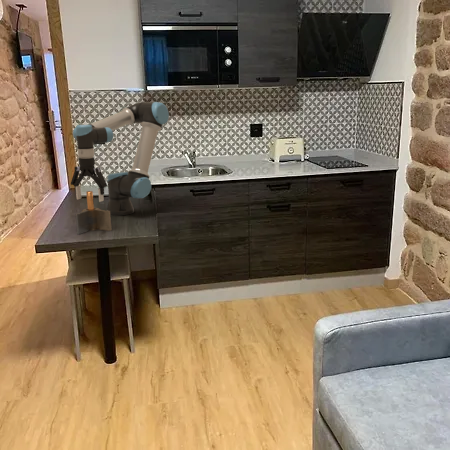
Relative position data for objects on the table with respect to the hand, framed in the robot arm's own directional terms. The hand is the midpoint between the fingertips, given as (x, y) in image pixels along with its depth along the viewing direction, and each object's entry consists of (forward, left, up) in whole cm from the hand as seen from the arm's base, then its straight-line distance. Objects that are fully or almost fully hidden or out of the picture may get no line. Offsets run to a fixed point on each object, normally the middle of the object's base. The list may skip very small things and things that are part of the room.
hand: (90, 200), depth 234 cm
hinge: (+4, +4, -15) cm, 16 cm away
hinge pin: (0, 0, -15) cm, 15 cm away
